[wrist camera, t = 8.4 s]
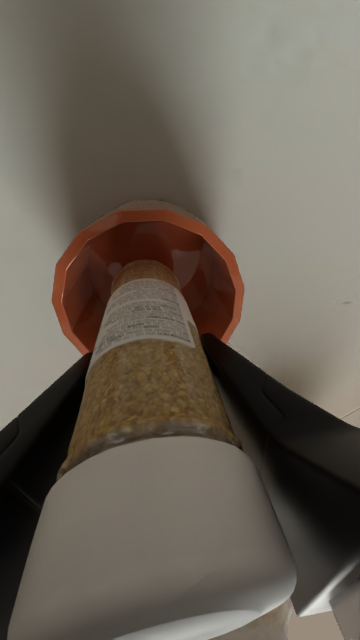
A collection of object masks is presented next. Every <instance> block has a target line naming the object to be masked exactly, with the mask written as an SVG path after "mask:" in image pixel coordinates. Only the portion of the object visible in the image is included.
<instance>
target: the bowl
mask: <svg viewBox="0 0 360 640" xmlns="http://www.w3.org/2000/svg"><path fill="white" fill-rule="evenodd" d="M136 260H155V261H158V262H160V263H162V264H163V265H165V266H167V267H168V268H169V269H170V270H171V271H172V272H173V273H174V274H175V276H176V277H177V279H178V281H179V284H180V290H181V294H182V296H183V297H184V299H185V301H186V303H187V305H188V308H189V310H190V313H191V315H192V318H193V320H194V323H195V325H196V328H197V331H198V335H199V340H200V342H201V339H200V335H201V334H204V333H211V334H213V335H214V336H215V337H217V338H218V339H219V340H221V341H222V342H224V343H225V344H226V343H227V341H228V340H229V338H230V336H231V335H232V333H233V331H234V330H235V328H236V326H237V325H238V323H239V321H240V317H241V310H242V303H243V296H244V285H243V282H242V278H241V275H240V272H239V269H238V265H237V262H236V259H235V256H234V254H233V253H232V252H231V251H230V250H229V248H228V247H227V246H226V245H225V244H224V243H223V242H222V241H221V240H220V239H219V238H218V236H217V235H216V234H215V233H214V232H213V231H212V230H211V229H210V228H209V227H208V226H207V225H206V224H205V223H203V222H202V221H201V220H199V219H198V218H197V217H196V216H194V215H193V214H192V213H190V212H189V211H186V210H184V209H182V208H179V207H177V206H175V205H172V204H170V203H167V202H165V201H163V200H162V201H161V200H142V201H130V202H127V203H125V204H123V205H121V206H120V207H117V208H116V209H114V210H112V211H110V212H108V213H106V214H104V215H103V216H101V217H100V218H98V219H97V220H95V221H94V222H92V223H91V224H89V225H88V226H86V227H85V228H83V229H82V230H80V231H79V232H78V234H77V235H76V236H75V238H74V239H73V241H72V242H71V244H70V245H69V246H68V248H67V249H66V251H65V252H64V254H63V255H62V256H61V258H60V259H59V261H58V262H57V265H56V268H55V277H54V285H53V294H52V304H53V306H54V309H55V312H56V315H57V317H58V320H59V323H60V326H61V328H62V331H63V333H64V335H65V336H66V337H67V338H68V339H69V340H70V341H71V343H72V344H73V345H74V346H75V347H76V348H77V349H78V350H79V351H80V352H81V353H82V354H83V356H84V355H85V354H86V353H88V352H93V351H94V347H95V344H96V340H97V337H98V333H99V330H100V327H101V323H102V320H103V317H104V313H105V310H106V306H107V303H108V301H109V299H110V297H111V285H112V282H113V279H114V277H115V275H116V274H117V273H118V271H119V270H120V269H121V268H122V267H124V266H125V265H126V264H128V263H131V262H133V261H136Z"/></svg>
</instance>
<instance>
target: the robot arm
mask: <svg viewBox="0 0 360 640" xmlns="http://www.w3.org/2000/svg"><path fill="white" fill-rule="evenodd" d="M200 339H201V344H202V347H203V350H204V353H205V355H206V357H207V360H208V363H209V367H210V369H211V371H212V374H213V378H214V380H215V382H216V385H217V388H218V390H219V392H220V395H221V398H222V401H223V404H224V407H225V410H226V413H227V415H228V417H229V419H230V422H231V426H232V429H233V432H234V435H235V437H237V438H238V439H239V440H240V441H241V442H242V448H243V451H244V453H246V454H247V455H248V456H249V457H250V458H251V459H252V460H253V462H254V463H255V464H256V467H257V469H258V472H259V474H260V476H261V479H262V481H263V484H264V486H265V488H266V491H267V493H268V495H269V498H270V500H271V503H272V505H273V507H274V510H275V512H276V515H277V517H278V520H279V523H280V525H281V528H282V530H283V533H284V535H285V538H286V540H287V543H288V545H289V548H290V551H291V554H292V556H293V559H294V562H295V566H296V571H297V582H296V586H295V589H294V592H293V593H292V594H291V596H290V599H291V601H292V604H293V607H294V609H295V612H296V614H297V616H298V617H302V616H307V615H312V614H317V613H321V612H326V611H331V610H332V611H333V614H334V616H335V618H336V621H337V623H338V625H339V628H340V630H341V632H342V635H343V637H344V640H360V428H357V427H355V426H352V425H350V424H348V423H346V422H344V421H342V420H340V419H339V418H337V417H335V416H334V415H332V414H330V413H328V412H327V411H325V410H323V409H322V408H320V407H318V406H317V405H315V404H313V403H311V402H310V401H308V400H306V399H305V398H303V397H301V396H300V395H298V394H296V393H295V392H293V391H292V390H290V389H288V388H287V387H285V386H284V385H282V384H281V383H279V382H278V381H276V380H275V379H274V378H272V377H271V376H269V375H268V374H267V375H266V373H265V372H264V371H262V370H261V369H260V368H258V367H257V366H256V365H254V364H253V363H251V362H250V361H249V360H247V359H246V358H244V357H243V356H242V355H240V354H239V353H237V352H236V351H235V350H233V349H232V348H231V347H229V346H228V345H226V344H225V343H224V342H222V341H221V340H219V339H218V338H217V337H215V336H214V335H213V334H211V333H204V334H201V335H200ZM92 354H93V352H88V353H86V354H85V355H84V356H83V357H82V358H81V359H79V360H78V361H77V362H76V363H75V364H74V365H73V366H72V367H71V368H70V369H68V370H67V371H66V372H65V373H64V374H63V375H62V376H61V377H60V378H59V379H57V380H56V381H55V382H54V383H53V384H52V385H51V386H50V387H49V388H48V389H46V390H45V391H44V392H43V393H42V394H41V395H40V396H39V397H38V398H37V399H35V400H34V401H33V402H32V403H31V404H30V405H29V406H28V407H27V408H26V409H24V410H23V411H22V412H21V413H20V414H19V415H18V418H17V417H16V418H15V419H13V420H12V421H11V422H10V423H9V424H8V425H7V426H6V427H5V428H3V429H2V430H1V431H0V640H7V635H8V627H9V623H10V619H11V616H12V612H13V608H14V605H15V601H16V597H17V594H18V590H19V586H20V583H21V579H22V575H23V571H24V568H25V564H26V561H27V558H28V554H29V551H30V547H31V544H32V540H33V537H34V534H35V531H36V527H37V524H38V521H39V518H40V514H41V511H42V508H43V505H44V502H45V499H46V496H47V495H48V493H49V491H50V490H51V488H52V487H53V486H54V485H55V483H56V480H57V474H58V471H59V469H60V468H61V466H62V464H63V463H64V461H65V460H66V459H67V456H68V449H69V445H70V442H71V439H72V436H73V432H74V429H75V425H76V422H77V418H78V415H79V411H80V406H81V402H82V399H83V393H84V390H85V379H86V375H87V372H88V368H89V365H90V361H91V358H92Z"/></svg>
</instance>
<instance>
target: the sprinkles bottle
mask: <svg viewBox="0 0 360 640" xmlns="http://www.w3.org/2000/svg"><path fill="white" fill-rule="evenodd" d="M296 582H297V571H296V566H295V562H294V559H293V556H292V554H291V551H290V548H289V545H288V543H287V540H286V538H285V535H284V533H283V530H282V528H281V525H280V523H279V520H278V517H277V515H276V512H275V510H274V507H273V505H272V503H271V500H270V498H269V495H268V493H267V491H266V488H265V486H264V484H263V481H262V479H261V476H260V474H259V472H258V469H257V467H256V464H255V463H254V462H253V460H252V459H251V458H250V457H249V456H248V455H247V454H246V453H244V451H243V448H242V442H241V441H240V440H239V439H238V438H237V437H235V435H234V432H233V429H232V426H231V422H230V419H229V417H228V415H227V413H226V410H225V407H224V404H223V401H222V398H221V395H220V392H219V390H218V388H217V385H216V382H215V380H214V378H213V374H212V371H211V369H210V367H209V363H208V360H207V357H206V355H205V353H204V350H203V347H202V344H201V342H200V340H199V335H198V331H197V328H196V325H195V323H194V320H193V318H192V315H191V313H190V310H189V308H188V305H187V303H186V301H185V299H184V297H183V296H182V294H181V290H180V284H179V281H178V279H177V277H176V276H175V274H174V273H173V272H172V271H171V270H170V269H169V268H168V267H167V266H165V265H163V264H162V263H160V262H158V261H155V260H136V261H133V262H131V263H128V264H126V265H125V266H124V267H122V268H121V269H120V270H119V271H118V273H117V274H116V275H115V277H114V279H113V282H112V285H111V297H110V299H109V301H108V303H107V306H106V310H105V313H104V317H103V320H102V323H101V327H100V330H99V333H98V337H97V340H96V344H95V347H94V351H93V354H92V358H91V361H90V365H89V368H88V372H87V375H86V379H85V390H84V393H83V399H82V402H81V406H80V411H79V415H78V418H77V422H76V425H75V429H74V432H73V436H72V439H71V442H70V445H69V449H68V456H67V459H66V460H65V461H64V463H63V464H62V466H61V468H60V469H59V471H58V474H57V480H56V483H55V485H54V486H53V487H52V488H51V490H50V491H49V493H48V495H47V496H46V499H45V502H44V505H43V508H42V511H41V514H40V518H39V521H38V524H37V527H36V531H35V534H34V537H33V540H32V544H31V547H30V551H29V554H28V558H27V561H26V564H25V568H24V571H23V575H22V579H21V583H20V586H19V590H18V594H17V597H16V601H15V605H14V608H13V612H12V616H11V619H10V623H9V627H8V635H7V640H208V639H211V638H214V637H217V636H220V635H223V634H225V633H228V632H230V631H232V630H235V629H237V628H240V627H242V626H244V625H246V624H248V623H249V622H251V621H253V620H255V619H257V618H258V617H260V616H262V615H264V614H266V613H268V612H270V611H271V610H273V609H275V608H276V607H278V606H279V605H281V604H282V603H284V602H285V601H286V600H287V599H288V598H289V597H290V596H291V594H292V593H293V592H294V589H295V586H296Z"/></svg>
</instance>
